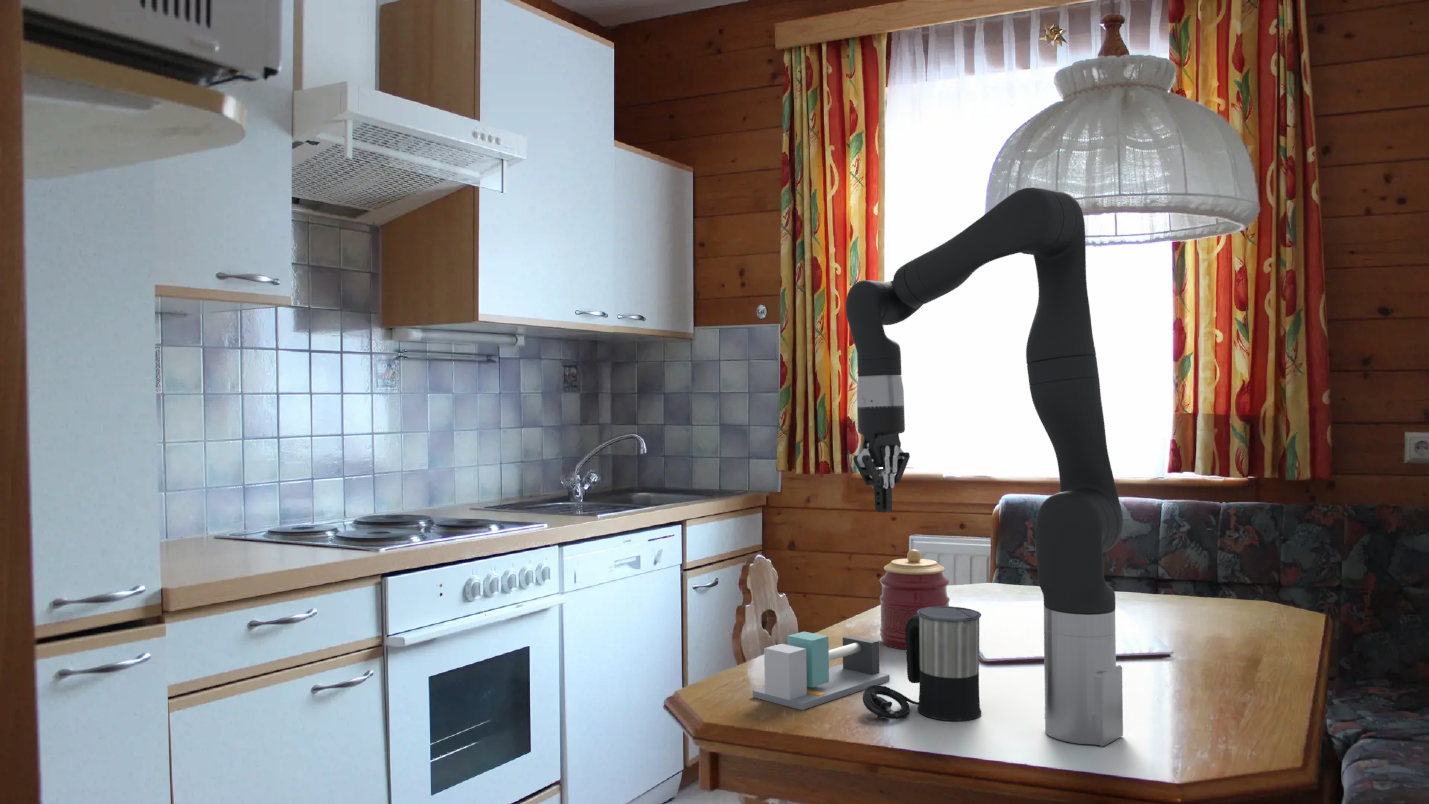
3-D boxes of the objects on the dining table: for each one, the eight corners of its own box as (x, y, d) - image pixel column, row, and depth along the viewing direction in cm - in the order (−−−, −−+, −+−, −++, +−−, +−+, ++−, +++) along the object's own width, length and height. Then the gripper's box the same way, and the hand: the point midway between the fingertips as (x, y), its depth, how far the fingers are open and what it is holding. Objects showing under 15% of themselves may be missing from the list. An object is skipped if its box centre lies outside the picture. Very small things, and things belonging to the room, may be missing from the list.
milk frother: (995, 713, 153) (993, 611, 153) (931, 737, 142) (930, 628, 142) (914, 693, 163) (913, 598, 163) (850, 715, 152) (848, 613, 152)
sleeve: (829, 682, 163) (828, 636, 163) (812, 687, 161) (812, 640, 160) (804, 676, 167) (803, 631, 167) (787, 681, 164) (787, 635, 164)
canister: (931, 654, 188) (930, 556, 188) (867, 645, 195) (866, 550, 195) (961, 641, 198) (960, 547, 198) (899, 632, 206) (898, 542, 206)
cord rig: (889, 680, 170) (889, 631, 170) (802, 710, 155) (801, 656, 155) (840, 670, 178) (840, 623, 178) (752, 697, 162) (752, 645, 162)
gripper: (875, 404, 162) (879, 516, 161) (922, 403, 171) (926, 509, 171) (836, 405, 167) (840, 514, 167) (884, 404, 176) (888, 507, 176)
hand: (883, 511), depth 169 cm, fingers closed
